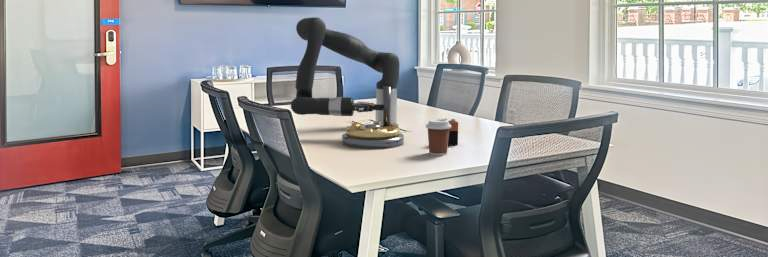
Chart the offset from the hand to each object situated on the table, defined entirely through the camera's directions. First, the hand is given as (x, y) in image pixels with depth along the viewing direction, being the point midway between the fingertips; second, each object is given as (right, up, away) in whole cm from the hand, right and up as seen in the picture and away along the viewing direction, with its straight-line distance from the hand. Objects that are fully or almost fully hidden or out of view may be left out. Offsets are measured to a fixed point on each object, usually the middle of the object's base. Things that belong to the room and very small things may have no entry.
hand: (384, 107), depth 256 cm
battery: (+25, -15, -9) cm, 30 cm away
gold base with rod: (-4, -11, -7) cm, 13 cm away
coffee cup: (+19, -18, -26) cm, 37 cm away
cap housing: (-4, -14, -6) cm, 16 cm away
